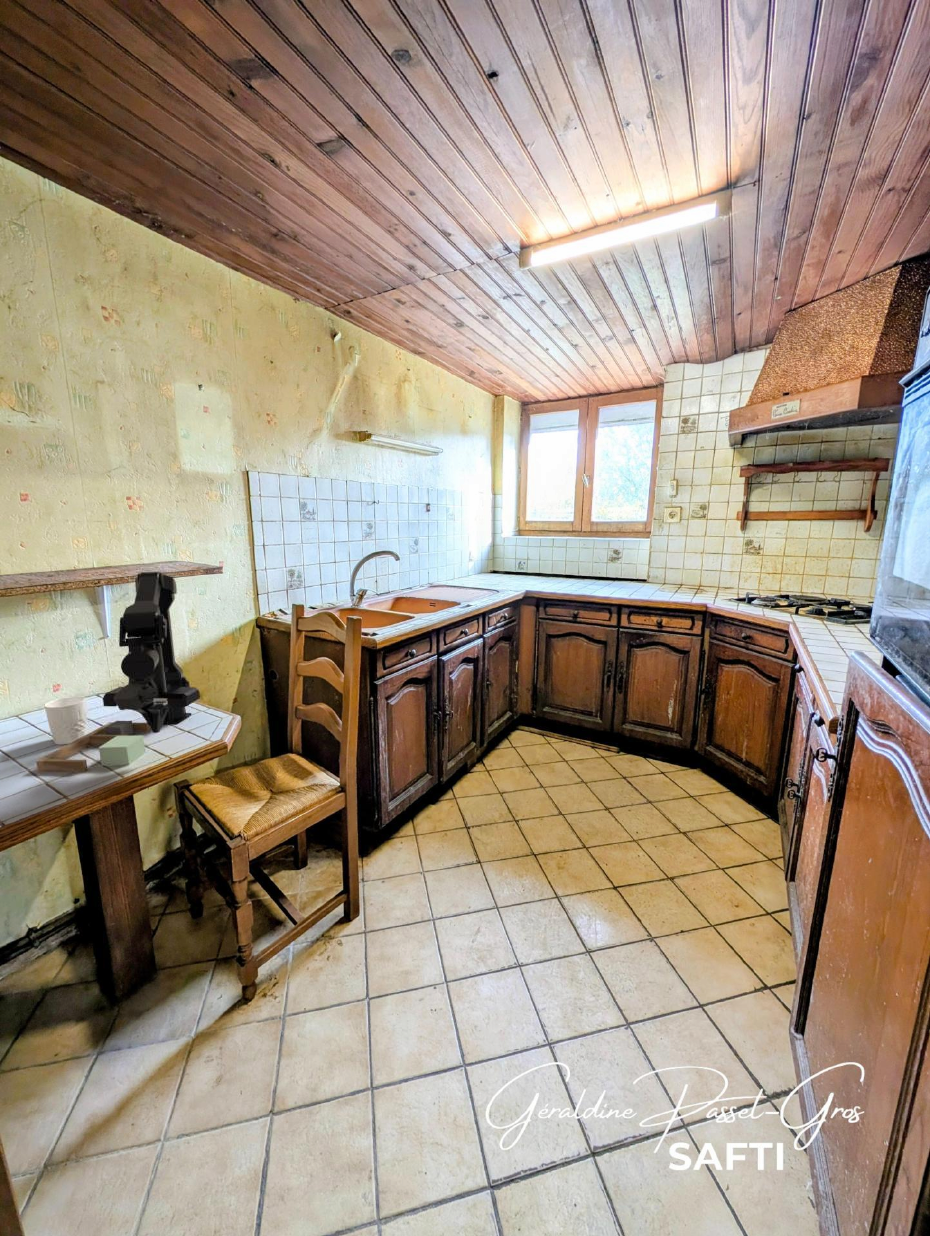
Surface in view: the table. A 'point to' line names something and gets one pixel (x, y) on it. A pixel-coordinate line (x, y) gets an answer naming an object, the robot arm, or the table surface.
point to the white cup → (67, 719)
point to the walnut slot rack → (97, 737)
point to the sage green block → (122, 750)
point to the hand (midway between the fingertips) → (156, 732)
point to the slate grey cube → (120, 728)
